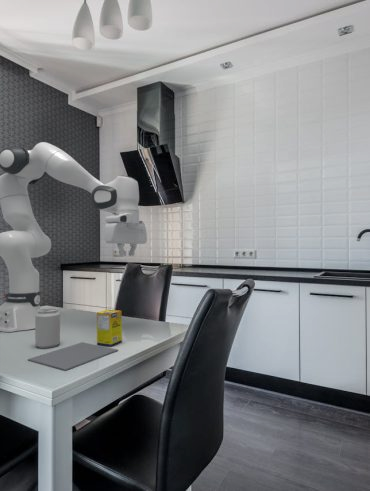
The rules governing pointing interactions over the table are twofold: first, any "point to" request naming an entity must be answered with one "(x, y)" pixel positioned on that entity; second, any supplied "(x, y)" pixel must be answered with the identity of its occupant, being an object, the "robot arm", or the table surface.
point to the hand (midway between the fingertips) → (127, 255)
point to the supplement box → (109, 327)
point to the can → (47, 328)
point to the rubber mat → (72, 356)
